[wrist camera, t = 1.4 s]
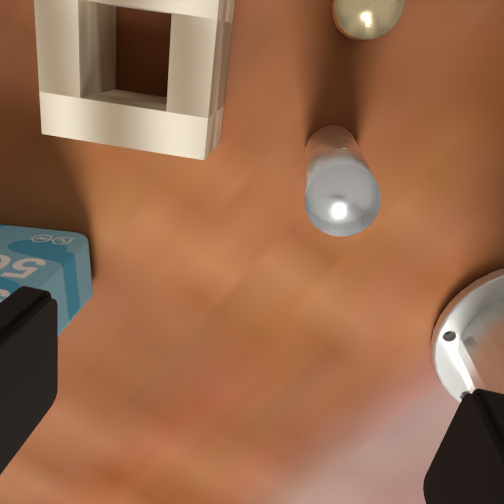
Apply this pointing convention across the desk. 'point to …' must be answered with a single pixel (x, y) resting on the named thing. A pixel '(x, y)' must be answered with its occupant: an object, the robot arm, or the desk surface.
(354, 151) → the tall pin
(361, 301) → the desk surface
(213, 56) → the pin block
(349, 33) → the short pin
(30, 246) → the data package
